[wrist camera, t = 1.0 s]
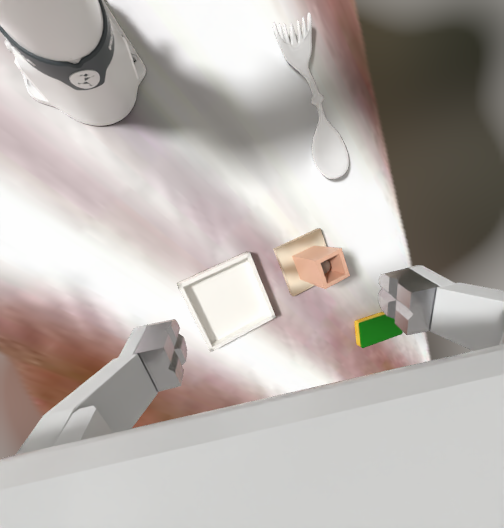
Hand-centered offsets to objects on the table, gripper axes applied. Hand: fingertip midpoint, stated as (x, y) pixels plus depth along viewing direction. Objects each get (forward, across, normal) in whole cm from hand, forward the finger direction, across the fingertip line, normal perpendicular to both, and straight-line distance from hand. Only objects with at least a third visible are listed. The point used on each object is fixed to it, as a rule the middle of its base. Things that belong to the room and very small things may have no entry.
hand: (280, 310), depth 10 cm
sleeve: (+42, -13, +20) cm, 48 cm away
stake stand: (+43, -12, +20) cm, 49 cm away
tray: (+38, +7, +22) cm, 44 cm away
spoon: (+54, -20, -12) cm, 58 cm away
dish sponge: (+43, -30, +44) cm, 68 cm away
